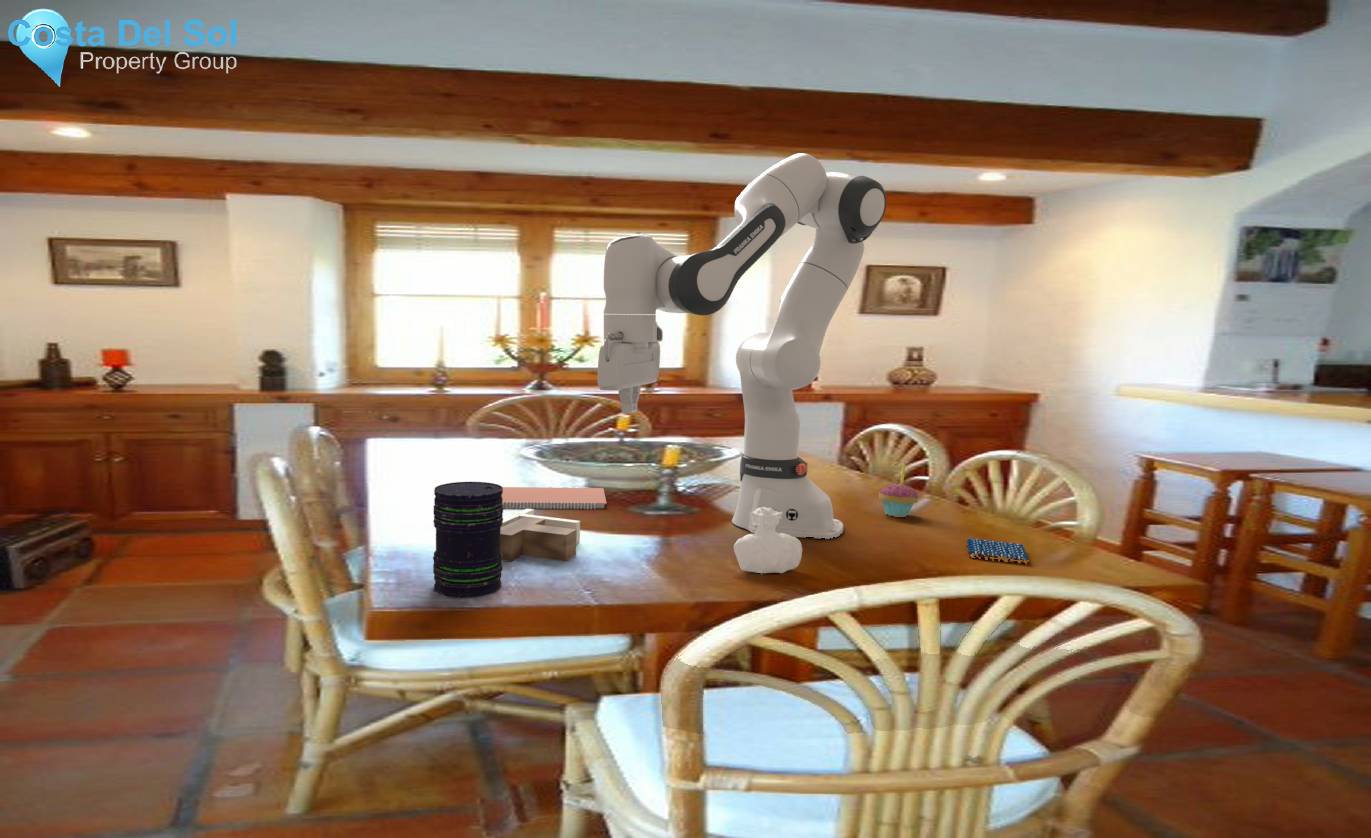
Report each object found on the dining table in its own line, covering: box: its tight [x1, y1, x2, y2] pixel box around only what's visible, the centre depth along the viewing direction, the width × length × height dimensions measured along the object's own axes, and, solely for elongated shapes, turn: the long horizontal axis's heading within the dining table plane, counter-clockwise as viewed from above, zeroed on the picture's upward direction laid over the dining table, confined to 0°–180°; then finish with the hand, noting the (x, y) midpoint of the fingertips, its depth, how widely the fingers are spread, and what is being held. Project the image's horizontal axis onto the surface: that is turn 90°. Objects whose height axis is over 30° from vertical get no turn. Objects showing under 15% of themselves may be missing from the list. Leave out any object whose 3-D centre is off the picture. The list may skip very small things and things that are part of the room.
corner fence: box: [501, 508, 581, 545], centre depth 136 cm, size 13×26×4 cm, turn 162°
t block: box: [500, 517, 577, 563], centre depth 135 cm, size 12×12×4 cm
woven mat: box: [966, 538, 1029, 561], centre depth 146 cm, size 10×11×2 cm
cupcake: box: [878, 460, 919, 516], centre depth 174 cm, size 9×8×12 cm
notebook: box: [502, 486, 608, 511], centre depth 176 cm, size 27×17×2 cm, turn 98°
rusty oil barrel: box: [432, 481, 504, 599], centre depth 116 cm, size 10×10×15 cm
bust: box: [733, 507, 803, 574], centre depth 132 cm, size 12×8×11 cm
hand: (629, 412), depth 136 cm, fingers closed
